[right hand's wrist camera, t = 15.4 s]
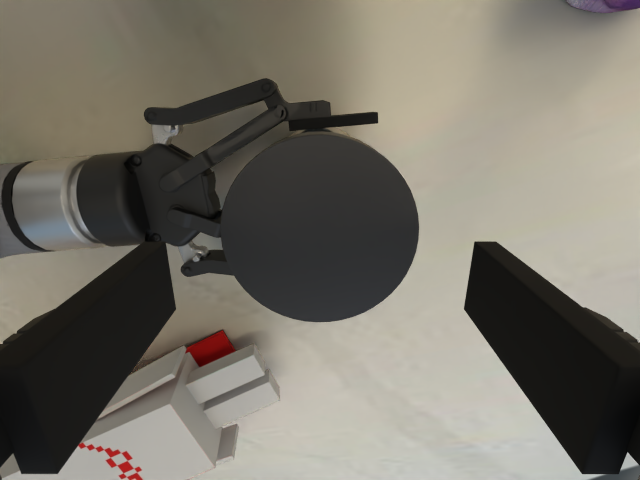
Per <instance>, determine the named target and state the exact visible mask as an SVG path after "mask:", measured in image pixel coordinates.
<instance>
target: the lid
mask: <svg viewBox="0 0 640 480" xmlns="http://www.w3.org/2000/svg"><path fill="white" fill-rule="evenodd" d="M418 236H419V221H418V213H417V208H416V204H415V201H414V198H413V195H412V193H411V190H410V188H409V187H408V185H407V183H406V181H405V179H404V178H403V177H402V175H401V174H400V173H399V171H398V170H397V169H396V168H395V167H394V166H393V165H392V164H391V163H390V162H389V161H388V160H387V159H386V158H385V157H384V156H382V155H381V154H380V153H378V152H377V151H376V150H374V149H373V148H372V147H370V146H369V145H367V144H365V143H363V142H362V141H360V140H358V139H355V138H352V137H350V136H347V135H343V134H339V133H334V132H324V131H319V132H306V133H301V134H296V135H293V136H290V137H287V138H284V139H282V140H280V141H278V142H276V143H274V144H272V145H271V146H269V147H268V148H266V149H265V150H264V151H262V152H261V153H260V154H258V155H257V156H256V157H255V158H254V159H252V160H251V161H250V162H249V163H248V164H247V165H246V166H245V167H244V168H243V170H242V171H241V172H240V173H239V174H238V176H237V177H236V179H235V180H234V182H233V184H232V185H231V187H230V189H229V192H228V194H227V196H226V199H225V202H224V206H223V209H222V216H221V240H222V247H223V250H224V254H225V257H226V260H227V262H228V265H229V267H230V269H231V271H232V273H233V274H234V276H235V278H236V279H237V281H238V282H239V283H240V284H241V286H242V287H243V288H244V289H245V290H246V291H247V292H248V293H249V294H250V295H251V296H252V297H253V298H254V299H255V300H257V301H258V302H259V303H260V304H262V305H263V306H265V307H267V308H268V309H270V310H272V311H274V312H276V313H278V314H281V315H283V316H286V317H289V318H292V319H297V320H302V321H309V322H331V321H338V320H343V319H347V318H350V317H354V316H356V315H359V314H361V313H364V312H365V311H367V310H369V309H371V308H373V307H375V306H376V305H377V304H379V303H380V302H382V301H383V300H384V299H385V298H387V297H388V296H389V295H390V294H391V293H392V292H393V291H394V290H395V289H396V288H397V286H398V285H399V284H400V283H401V281H402V280H403V278H404V277H405V275H406V274H407V272H408V270H409V268H410V266H411V264H412V261H413V258H414V256H415V253H416V248H417V243H418Z"/></svg>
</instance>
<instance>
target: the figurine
mask: <svg viewBox="0 0 640 480" xmlns="http://www.w3.org/2000/svg"><path fill="white" fill-rule="evenodd" d="M566 2H567V3H568V4H569V5H570V6H573V7H575V8H578V9H583V10H587V11H591V12H600V13H611V12H617V11H624V10H632V9H637V8H640V0H566Z"/></svg>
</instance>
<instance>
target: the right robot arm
mask: <svg viewBox="0 0 640 480" xmlns="http://www.w3.org/2000/svg"><path fill="white" fill-rule="evenodd" d="M175 310H176V306H175V300H174V293H173V287H172V281H171V274H170V268H169V261H168V255H167V249H166V242H143V243H142V244H140V245H139V246H138V247H136V248H135V249H134V250H132V251H131V252H130V253H128V254H127V255H126V256H124V257H123V258H122V259H120V260H119V261H118V262H116V263H115V264H114V265H113V266H111V267H110V268H109V269H107V270H106V271H105V272H103V273H102V274H101V275H99V276H98V277H97V278H95V279H94V280H93V281H91V282H90V283H89V284H88V285H86V286H85V287H84V288H82V289H81V290H80V291H78V292H77V293H76V294H74V295H73V296H72V297H70V298H69V299H68V300H66V301H65V302H64V303H62V304H61V305H60V306H59V307H57V308H56V309H53V310H51V311H49V312H47V313H45V314H43V315H41V316H39V317H37V318H35V319H33V320H32V321H30V322H29V323H27V324H26V325H25V326H23V327H22V328H21V329H19V330H18V331H17V334H13V335H11V336H10V337H8V338H7V339H6V340H4V341H3V344H0V467H1V466H2V465H3V464H4V463H5V462H6V461H7V460H8V458H9V457H10V456H11V455H12V454H14V457H15V459H16V462H17V464H18V467H19V469H20V472H21V474H58V473H59V472H60V470H61V469H62V467H63V466H64V465H65V463H66V462H67V461H68V459H69V458H70V456H71V455H72V454H73V452H74V451H75V449H76V448H77V447H78V445H79V444H80V442H81V441H82V440H83V438H84V437H85V435H86V434H87V433H88V431H89V430H90V428H91V427H92V426H93V424H94V423H95V421H96V420H97V419H98V417H99V416H100V414H101V413H102V412H103V410H104V409H105V407H106V406H107V405H108V403H109V402H110V400H111V399H112V398H113V396H114V395H115V394H116V392H117V391H118V389H119V388H120V387H121V385H122V384H123V382H124V381H125V380H126V378H127V377H128V375H129V374H130V373H131V371H132V370H133V368H134V367H135V366H136V364H137V363H138V361H139V360H140V359H141V357H142V356H143V354H144V353H145V352H146V350H147V349H148V347H149V346H150V345H151V343H152V342H153V340H154V339H155V338H156V336H157V335H158V333H159V332H160V331H161V329H162V328H163V326H164V325H165V324H166V322H167V321H168V320H169V318H170V317H171V315H172V314H173V313H174V311H175ZM464 310H465V311H466V313H467V314H468V315H469V317H470V318H471V320H472V321H473V322H474V324H475V325H476V326H477V328H478V329H479V331H480V332H481V333H482V335H483V336H484V338H485V339H486V340H487V342H488V343H489V345H490V346H491V347H492V349H493V350H494V352H495V353H496V354H497V356H498V357H499V359H500V360H501V361H502V363H503V364H504V366H505V367H506V368H507V370H508V371H509V373H510V374H511V375H512V377H513V378H514V380H515V381H516V382H517V384H518V385H519V387H520V388H521V389H522V391H523V392H524V394H525V395H526V396H527V398H528V399H529V400H530V402H531V403H532V405H533V406H534V407H535V409H536V410H537V412H538V413H539V414H540V416H541V417H542V419H543V420H544V421H545V423H546V424H547V426H548V427H549V428H550V430H551V431H552V433H553V434H554V435H555V437H556V438H557V440H558V441H559V442H560V444H561V445H562V447H563V448H564V449H565V451H566V452H567V454H568V455H569V456H570V458H571V459H572V461H573V462H574V463H575V465H576V466H577V467H578V469H579V470H580V472H581V473H582V474H619V472H620V469H621V467H622V464H623V462H624V459H625V457H626V454H627V452H628V453H629V454H630V455H631V456H632V457H633V459H634V460H635V461H636V462H637V463H638V464H639V465H640V343H638V342H637V339H635V338H634V337H633V336H631V335H630V334H629V333H627V332H624V331H623V329H622V328H620V327H619V326H618V325H616V324H615V323H614V322H612V321H611V320H609V319H608V318H606V317H604V316H602V315H600V314H598V313H596V312H594V311H592V310H590V309H588V308H583V307H581V306H580V305H579V304H578V303H576V302H575V301H574V300H572V299H571V298H570V297H568V296H567V295H566V294H564V293H563V292H562V291H560V290H559V289H558V288H556V287H555V286H554V285H552V284H551V283H550V282H549V281H547V280H546V279H545V278H543V277H542V276H541V275H539V274H538V273H537V272H535V271H534V270H533V269H531V268H530V267H529V266H527V265H526V264H525V263H524V262H522V261H521V260H520V259H518V258H517V257H516V256H514V255H513V254H512V253H510V252H509V251H508V250H506V249H505V248H504V247H502V246H501V245H500V244H498V243H497V242H474V249H473V255H472V261H471V268H470V274H469V281H468V287H467V293H466V300H465V306H464ZM0 480H2V477H1V475H0ZM638 480H640V475H639V477H638Z"/></svg>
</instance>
